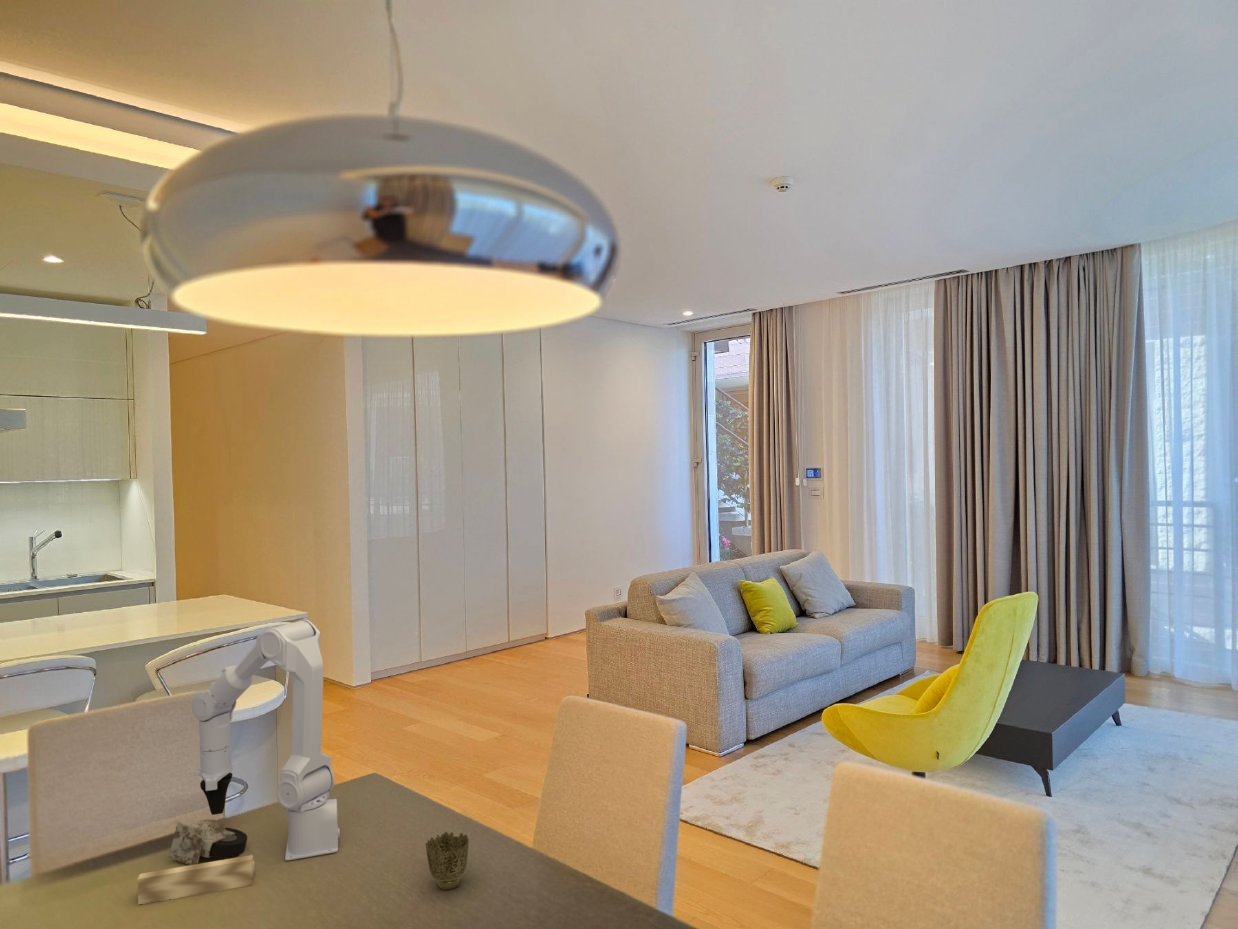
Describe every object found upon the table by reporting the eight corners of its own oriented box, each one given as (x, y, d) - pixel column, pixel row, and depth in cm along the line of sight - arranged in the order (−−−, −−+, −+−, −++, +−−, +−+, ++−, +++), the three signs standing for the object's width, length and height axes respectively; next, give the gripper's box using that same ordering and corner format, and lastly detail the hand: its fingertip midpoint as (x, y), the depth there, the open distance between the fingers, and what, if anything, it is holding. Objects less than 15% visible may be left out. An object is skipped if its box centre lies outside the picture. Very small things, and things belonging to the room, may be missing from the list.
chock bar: (254, 873, 151) (254, 848, 151) (252, 885, 147) (251, 859, 147) (144, 892, 145) (143, 867, 145) (138, 905, 141) (137, 879, 141)
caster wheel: (250, 860, 162) (214, 877, 152) (204, 842, 165) (166, 858, 155) (259, 825, 163) (223, 840, 153) (213, 808, 166) (175, 822, 156)
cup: (477, 878, 146) (476, 834, 146) (456, 900, 139) (455, 852, 139) (441, 873, 149) (440, 829, 149) (418, 893, 142) (417, 847, 142)
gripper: (199, 739, 175) (201, 802, 175) (187, 761, 161) (189, 830, 161) (235, 734, 177) (237, 797, 177) (227, 756, 163) (229, 824, 163)
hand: (217, 813), depth 169 cm, fingers closed
